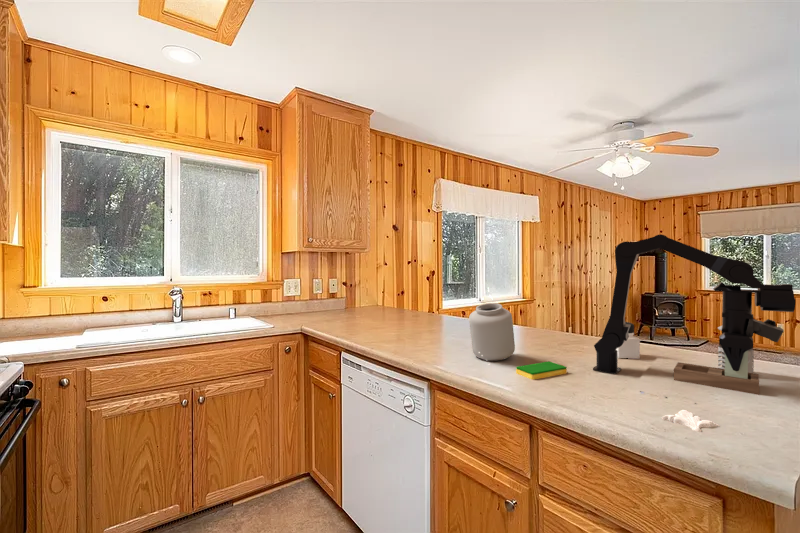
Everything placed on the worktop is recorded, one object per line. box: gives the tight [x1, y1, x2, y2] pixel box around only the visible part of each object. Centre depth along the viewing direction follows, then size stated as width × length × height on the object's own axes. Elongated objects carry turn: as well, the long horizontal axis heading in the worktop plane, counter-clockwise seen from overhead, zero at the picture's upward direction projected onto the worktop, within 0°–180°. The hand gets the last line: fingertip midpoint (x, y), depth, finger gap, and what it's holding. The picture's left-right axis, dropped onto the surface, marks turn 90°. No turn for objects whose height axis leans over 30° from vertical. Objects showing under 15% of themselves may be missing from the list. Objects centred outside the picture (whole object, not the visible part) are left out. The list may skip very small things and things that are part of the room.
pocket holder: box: [673, 361, 760, 396], centre depth 101 cm, size 9×17×4 cm, turn 47°
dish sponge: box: [515, 360, 568, 380], centre depth 114 cm, size 7×14×2 cm, turn 114°
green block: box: [725, 351, 748, 379], centre depth 98 cm, size 4×4×10 cm
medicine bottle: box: [616, 321, 641, 360], centre depth 132 cm, size 7×7×12 cm
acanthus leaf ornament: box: [661, 409, 720, 433], centre depth 79 cm, size 8×7×2 cm
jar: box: [468, 287, 516, 365], centre depth 131 cm, size 19×15×25 cm
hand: (736, 368), depth 98 cm, fingers closed on green block, 4 cm apart
